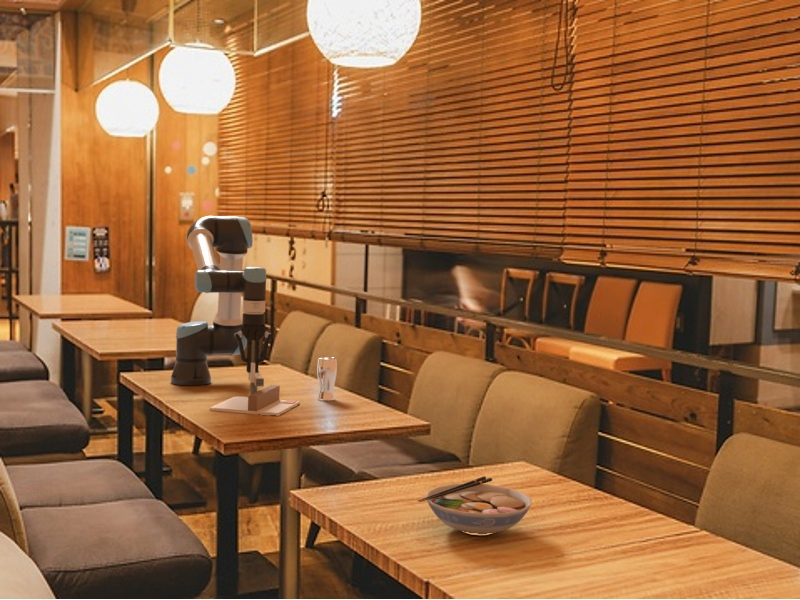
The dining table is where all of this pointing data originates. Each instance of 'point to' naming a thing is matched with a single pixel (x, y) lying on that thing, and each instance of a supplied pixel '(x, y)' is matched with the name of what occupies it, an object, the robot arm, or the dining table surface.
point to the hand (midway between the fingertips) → (252, 381)
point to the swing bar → (258, 380)
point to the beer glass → (326, 377)
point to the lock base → (243, 406)
